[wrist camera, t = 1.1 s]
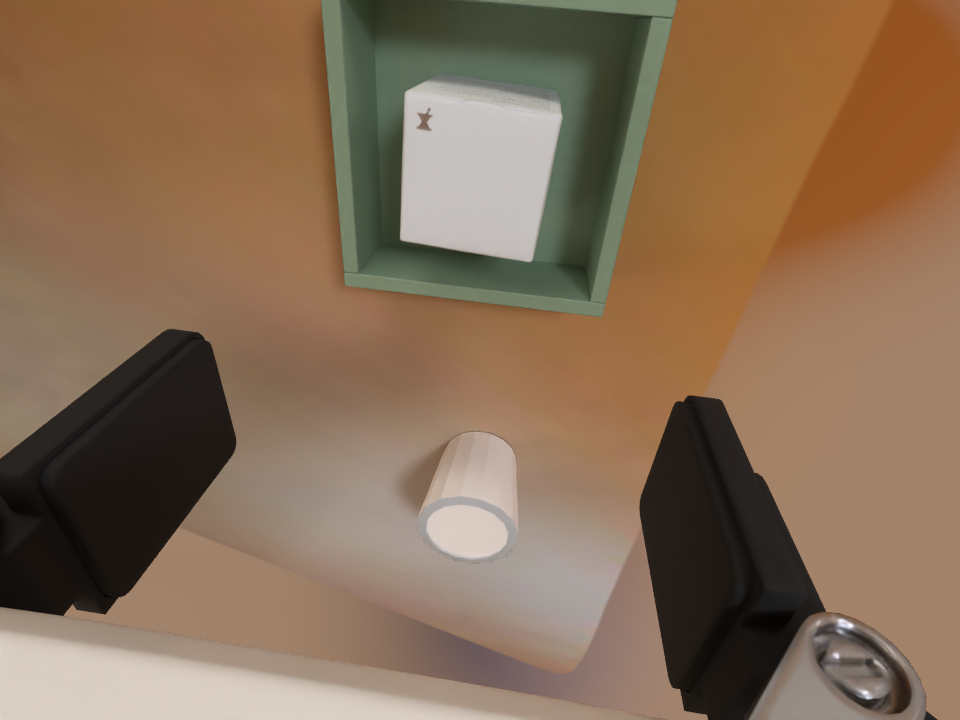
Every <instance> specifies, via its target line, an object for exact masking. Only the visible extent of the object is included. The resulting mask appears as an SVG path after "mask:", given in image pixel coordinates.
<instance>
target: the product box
mask: <svg viewBox="0 0 960 720" xmlns="http://www.w3.org/2000/svg"><path fill="white" fill-rule="evenodd" d="M562 118H563V116H562V112H561V104H560V99H559V95H558V92H557V91H553V90H548V89H544V88H538V87H532V86H526V85H520V84H514V83H507V82H501V81H494V80H487V79H480V78H473V77H466V76H458V75H449V74H438V75H437V76H435V77H433V78H431V79H429V80H427V81H425V82H423V83H421V84H419V85H417V86H415V87H413V88H411V89H409V90H407V91H406V92H405V96H404V121H403V151H402V183H401V217H400V239H401V240H402V241H405V242H411V243H417V244H423V245H429V246H434V247H440V248H446V249H452V250H457V251H463V252H469V253H475V254H481V255H487V256H493V257H499V258H506V259H512V260H518V261H524V262H532V260H533V257H534V253H535V248H536V243H537V239H538V234H539V230H540V225H541V221H542V216H543V211H544V207H545V202H546V197H547V192H548V187H549V182H550V177H551V172H552V167H553V162H554V157H555V152H556V147H557V142H558V137H559V132H560V127H561V123H562Z"/></svg>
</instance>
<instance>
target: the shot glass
mask: <svg viewBox="0 0 960 720" xmlns="http://www.w3.org/2000/svg"><path fill="white" fill-rule="evenodd" d="M418 532H419V534H420V535H421V537H422V539H423V541H424V543H426V544H427V545H428V546H429V547H431V548H432V549H433V550H434V551H435V552H437V553H438V554H441V555H443V556H445V557H448V558H450V559H452V560H455V561H462V562H468V563H483V562H492V561H495V560H497V559H499V558H502V557H504V556H507V554H508V553H509V552H510V551H511V550H512V549H513V548H514V547H515V546H516V543H517V538H518V508H517V478H516V458H515V455H514V453H513V450H512V448H511V447H510V446H509V445H508V444H507V443H506V442H505V441H504V440H503V439H501V438H499V437H497V436H495V435H492V434H490V433H484V432H477V431H474V432H468V433H462V434H460V435H458V436H457V437H455V438H453V439H451V441H450V442H449V444H448V445H447V447H446V448H445V450H444V453H443V455H442V458H441V460H440V463H439V465H438V468H437V470H436V473H435V475H434V478H433V480H432V483H431V485H430V488H429V490H428V493H427V495H426V498H425V500H424V503H423V505H422V508H421V511H420V513H419V516H418Z"/></svg>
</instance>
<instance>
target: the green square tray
mask: <svg viewBox="0 0 960 720" xmlns="http://www.w3.org/2000/svg"><path fill="white" fill-rule="evenodd" d="M677 1H678V0H321V7H322V19H323V31H324V43H325V54H326V66H327V78H328V90H329V102H330V113H331V125H332V137H333V149H334V161H335V172H336V184H337V196H338V208H339V220H340V231H341V243H342V255H343V267H344V271H345V272H344V280H345V286H351V287H360V288H368V289H376V290H384V291H392V292H400V293H408V294H416V295H425V296H433V297H441V298H449V299H457V300H465V301H473V302H482V303H490V304H498V305H506V306H514V307H522V308H530V309H538V310H547V311H555V312H563V313H571V314H579V315H587V316H595V317H602V316H603V312H604V308H605V302H606V299H607V295H608V291H609V287H610V282H611V278H612V274H613V270H614V266H615V261H616V257H617V253H618V249H619V245H620V240H621V236H622V232H623V228H624V223H625V219H626V215H627V211H628V207H629V202H630V198H631V194H632V190H633V186H634V181H635V177H636V173H637V169H638V165H639V160H640V156H641V152H642V148H643V143H644V139H645V135H646V131H647V127H648V122H649V118H650V114H651V110H652V106H653V101H654V97H655V93H656V89H657V85H658V80H659V76H660V72H661V68H662V64H663V59H664V55H665V51H666V47H667V42H668V38H669V34H670V30H671V26H672V21H673V20H672V18H673V17H674V14H675V9H676V5H677ZM438 74H449V75H458V76H466V77H473V78H480V79H487V80H494V81H501V82H507V83H514V84H520V85H526V86H532V87H538V88H544V89H548V90H553V91H557V92H558V95H559V99H560V104H561V112H562V116H563V118H562V123H561V127H560V132H559V137H558V142H557V147H556V152H555V157H554V162H553V167H552V172H551V177H550V182H549V187H548V192H547V197H546V202H545V207H544V211H543V216H542V221H541V225H540V230H539V234H538V239H537V243H536V248H535V253H534V257H533V260H532V262H524V261H518V260H512V259H506V258H499V257H493V256H487V255H481V254H475V253H469V252H463V251H457V250H452V249H446V248H440V247H434V246H429V245H423V244H417V243H411V242H405V241H402V240H401V239H400V217H401V183H402V151H403V121H404V96H405V92H406V91H407V90H409V89H411V88H413V87H415V86H417V85H419V84H421V83H423V82H425V81H427V80H429V79H431V78H433V77H435V76H437V75H438Z"/></svg>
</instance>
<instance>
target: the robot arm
mask: <svg viewBox="0 0 960 720" xmlns="http://www.w3.org/2000/svg"><path fill="white" fill-rule="evenodd" d="M235 447H236V436H235V432H234V429H233V425H232V421H231V417H230V413H229V410H228V406H227V402H226V398H225V394H224V391H223V387H222V383H221V379H220V375H219V372H218V368H217V364H216V360H215V356H214V353H213V349H212V346H211V344H210V343H209V342H208V341H206V340H205V339H204V337H203V336H202V335H201V334H200V333H198V332H191V331H183V330H175V329H168V330H166V331H164V332H162V333H161V334H160V335H159V336H157V337H156V338H155V339H153V340H152V341H151V342H150V343H148V344H147V345H146V346H144V347H143V348H142V349H141V350H139V351H138V352H137V353H135V354H134V355H133V356H132V357H130V358H129V359H128V360H126V361H125V362H124V363H123V364H121V365H120V366H119V367H117V368H116V369H115V370H114V371H112V372H111V373H110V374H109V375H107V376H106V377H105V378H103V379H102V380H101V381H100V382H98V383H97V384H96V385H94V386H93V387H92V388H91V389H89V390H88V391H87V392H85V393H84V394H83V395H82V396H80V397H79V398H78V399H76V400H75V401H74V402H73V403H71V404H70V405H69V406H67V407H66V408H65V409H64V410H62V411H61V412H60V413H59V414H57V415H56V416H55V417H53V418H52V419H51V420H50V421H48V422H47V423H46V424H44V425H43V426H42V427H41V428H39V429H38V430H37V431H35V432H34V433H33V434H32V435H30V436H29V437H28V438H26V439H25V440H24V441H23V442H21V443H20V444H19V445H17V446H16V447H15V448H14V449H12V450H11V451H10V452H9V453H7V454H6V455H5V456H3V457H2V458H1V459H0V720H665V719H660V718H655V717H649V716H644V715H639V714H634V713H628V712H623V711H618V710H613V709H608V708H603V707H596V706H592V705H587V704H581V703H576V702H571V701H566V700H561V699H554V698H549V697H544V696H538V695H532V694H526V693H520V692H515V691H509V690H503V689H497V688H492V687H485V686H480V685H474V684H468V683H463V682H456V681H451V680H445V679H440V678H433V677H428V676H422V675H416V674H411V673H405V672H399V671H393V670H387V669H381V668H375V667H369V666H363V665H358V664H352V663H346V662H340V661H334V660H328V659H322V658H316V657H310V656H303V655H298V654H292V653H286V652H280V651H274V650H268V649H262V648H256V647H250V646H244V645H238V644H232V643H226V642H220V641H214V640H208V639H202V638H195V637H189V636H183V635H177V634H171V633H165V632H158V631H153V630H146V629H140V628H134V627H128V626H122V625H115V624H109V623H103V622H97V621H91V620H85V619H78V618H72V617H66V616H64V614H65V612H66V611H67V610H68V609H69V608H70V607H71V605H72V604H73V605H74V607H75V608H76V609H77V610H82V611H88V612H94V613H100V614H106V613H107V612H108V610H109V609H110V608H111V606H112V605H113V604H114V603H115V601H116V600H117V599H118V597H122V596H125V595H126V594H127V593H129V591H130V590H131V589H132V588H133V587H134V585H135V584H136V583H137V581H138V580H139V579H140V577H141V576H142V575H143V573H144V572H145V571H146V570H147V568H148V567H149V566H150V564H151V563H152V562H153V560H154V558H156V556H157V555H158V553H159V552H160V551H161V549H162V548H163V547H164V546H165V544H166V543H167V542H168V540H169V539H170V538H171V536H172V535H173V534H174V532H175V531H176V529H177V528H178V527H179V526H180V524H181V523H182V522H183V520H184V519H185V518H186V516H187V515H188V514H189V512H190V511H191V510H192V508H193V507H194V506H195V504H196V503H197V502H198V500H199V499H200V498H201V496H202V495H203V494H204V492H205V491H206V490H207V488H208V487H209V486H210V484H211V483H212V482H213V480H214V479H215V478H216V476H217V475H218V474H219V472H220V471H221V470H222V468H223V467H224V466H225V464H226V463H227V462H228V460H229V459H230V458H231V456H232V455H233V453H234V451H235ZM640 518H641V523H642V529H643V534H644V540H645V546H646V552H647V558H648V563H649V569H650V575H651V581H652V586H653V592H654V598H655V603H656V609H657V614H658V621H659V626H660V632H661V638H662V643H663V649H664V655H665V661H666V666H667V672H668V677H669V681H670V683H671V686H672V687H673V688H676V689H680V691H681V696H682V701H683V706H684V711H689V712H694V713H700V714H706V715H707V716H708V720H937V719H936V718H934V717H933V716H932V715H931V714H930V713H928V712H927V711H926V695H925V692H924V688H923V686H922V683H921V680H920V678H919V676H918V674H917V673H916V671H915V670H914V668H913V667H912V665H911V663H910V662H909V660H908V659H907V658H906V657H905V656H904V655H903V654H902V653H901V652H900V651H899V649H898V648H897V647H896V646H895V645H894V644H893V643H892V642H890V641H889V640H888V639H887V638H885V637H884V636H883V635H882V634H880V633H879V632H878V631H876V630H875V629H874V628H871V627H870V626H868V625H866V624H865V623H863V622H861V621H859V620H857V619H855V618H852V617H849V616H846V615H843V614H840V613H832V612H826V611H825V608H824V606H823V604H822V602H821V600H820V598H819V595H818V593H817V591H816V589H815V587H814V585H813V583H812V580H811V578H810V576H809V574H808V572H807V570H806V568H805V565H804V563H803V561H802V559H801V557H800V554H799V552H798V550H797V548H796V546H795V544H794V542H793V539H792V538H791V535H790V533H789V531H788V529H787V526H786V524H785V522H784V520H783V518H782V516H781V514H780V511H779V509H778V507H777V505H776V503H775V501H774V498H773V496H772V494H771V492H770V490H769V488H768V486H767V484H766V482H765V480H764V479H763V477H762V476H760V475H759V474H757V473H754V471H753V469H752V467H751V464H750V462H749V460H748V458H747V456H746V453H745V451H744V449H743V446H742V444H741V442H740V440H739V438H738V435H737V433H736V431H735V429H734V426H733V424H732V422H731V420H730V417H729V416H728V413H727V411H726V408H725V406H724V404H723V402H722V401H721V400H719V399H715V398H707V397H699V396H691V395H690V396H687V397H686V399H685V400H684V402H679V401H678V402H676V403H675V404H674V406H673V409H672V411H671V414H670V417H669V420H668V423H667V425H666V428H665V431H664V434H663V436H662V439H661V442H660V445H659V448H658V450H657V453H656V456H655V459H654V461H653V464H652V467H651V470H650V472H649V475H648V478H647V481H646V484H645V486H644V489H643V492H642V495H641V499H640Z"/></svg>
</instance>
